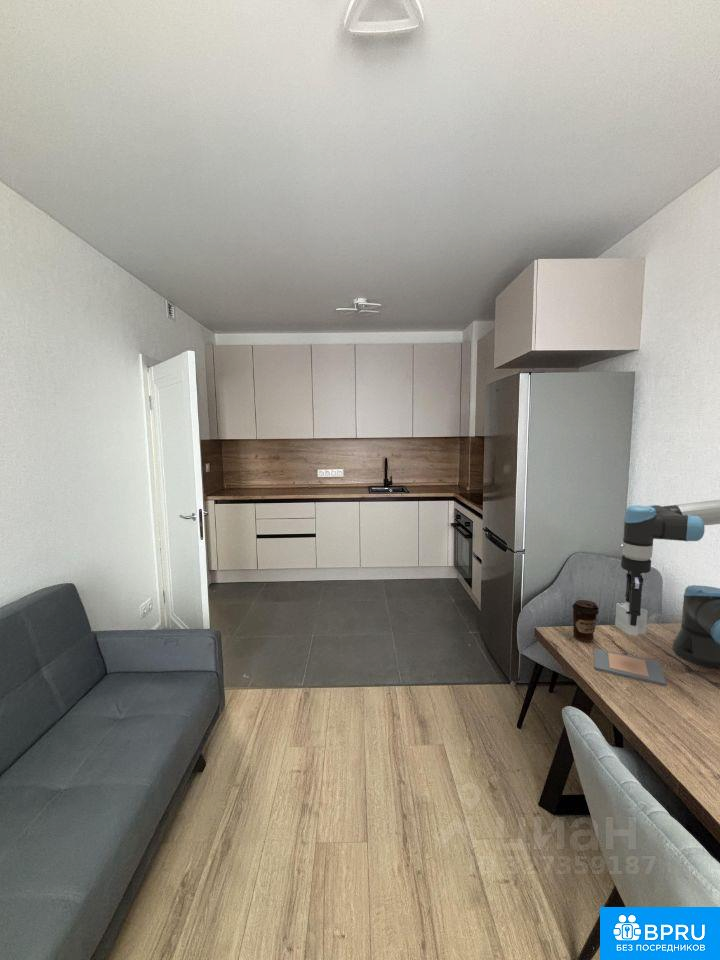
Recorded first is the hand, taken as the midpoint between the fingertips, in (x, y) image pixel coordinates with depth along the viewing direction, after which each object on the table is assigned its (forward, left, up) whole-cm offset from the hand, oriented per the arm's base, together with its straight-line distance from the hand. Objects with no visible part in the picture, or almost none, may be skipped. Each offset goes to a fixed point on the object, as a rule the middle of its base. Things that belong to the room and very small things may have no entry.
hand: (630, 628), depth 130 cm
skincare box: (0, 0, -1) cm, 1 cm away
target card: (0, 0, -13) cm, 13 cm away
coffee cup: (+12, -14, -13) cm, 22 cm away
